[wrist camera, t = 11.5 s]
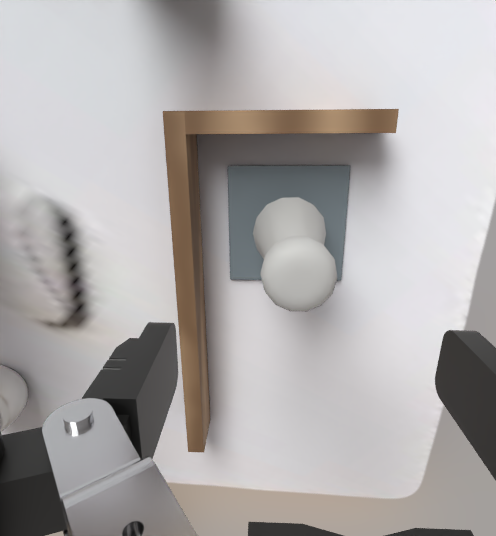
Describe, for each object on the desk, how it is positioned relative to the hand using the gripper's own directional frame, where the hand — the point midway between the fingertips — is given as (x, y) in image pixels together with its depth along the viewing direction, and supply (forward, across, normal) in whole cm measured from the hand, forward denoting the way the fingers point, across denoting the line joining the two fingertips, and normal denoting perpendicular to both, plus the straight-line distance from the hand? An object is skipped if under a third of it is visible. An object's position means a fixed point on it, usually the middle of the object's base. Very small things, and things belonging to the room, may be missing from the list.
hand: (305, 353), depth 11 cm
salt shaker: (+22, -1, +1) cm, 23 cm away
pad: (+23, -1, +1) cm, 23 cm away
